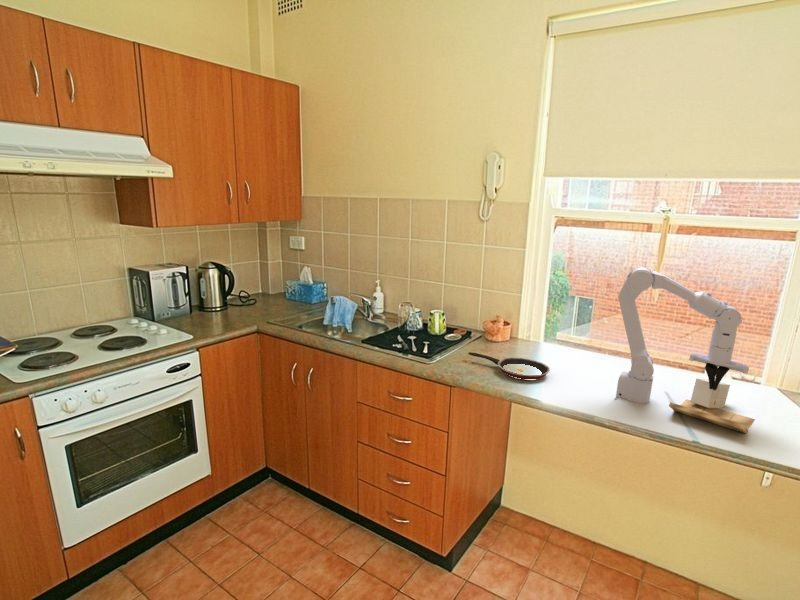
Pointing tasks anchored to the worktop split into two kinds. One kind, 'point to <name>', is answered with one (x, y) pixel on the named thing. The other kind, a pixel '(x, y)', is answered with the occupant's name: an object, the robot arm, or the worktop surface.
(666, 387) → the worktop surface
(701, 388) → the small box
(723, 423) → the plank
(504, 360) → the frying pan
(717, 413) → the laid board
